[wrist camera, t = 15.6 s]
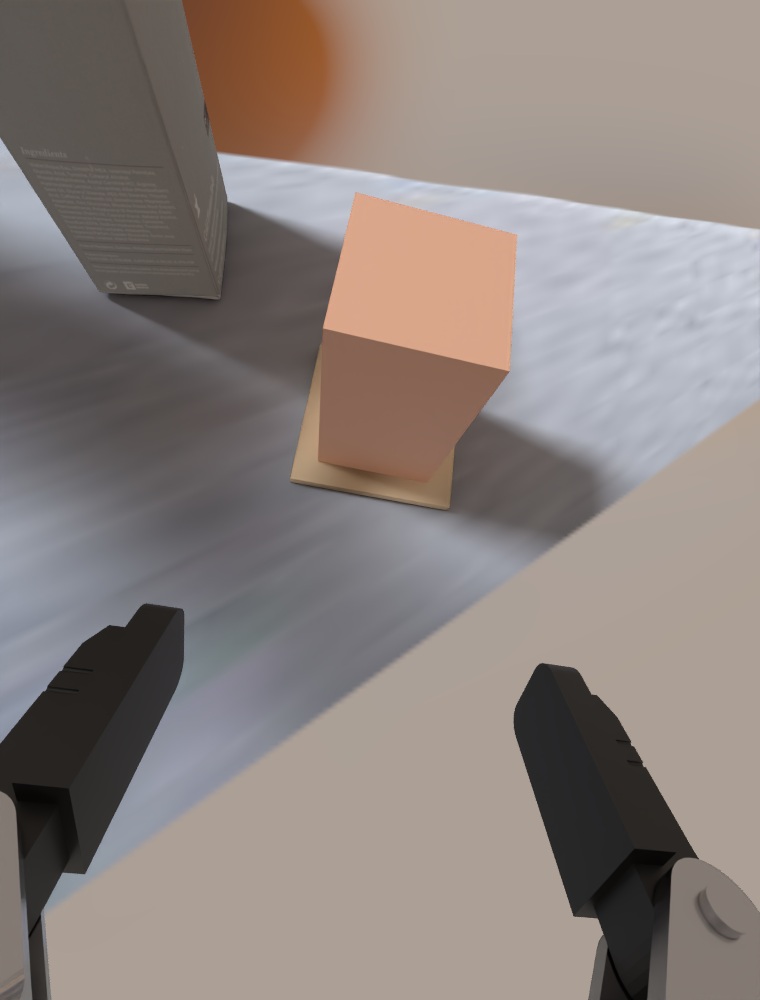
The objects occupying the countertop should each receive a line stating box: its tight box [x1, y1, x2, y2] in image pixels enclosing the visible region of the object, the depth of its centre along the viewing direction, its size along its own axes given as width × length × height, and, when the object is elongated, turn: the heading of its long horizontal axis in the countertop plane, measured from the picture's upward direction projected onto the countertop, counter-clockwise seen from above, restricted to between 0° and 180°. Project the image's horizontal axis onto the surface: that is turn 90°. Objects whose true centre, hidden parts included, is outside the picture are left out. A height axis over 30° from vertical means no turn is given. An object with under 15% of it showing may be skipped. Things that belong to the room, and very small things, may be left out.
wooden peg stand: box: [290, 344, 455, 510], centre depth 19 cm, size 8×8×8 cm
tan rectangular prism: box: [318, 193, 517, 483], centre depth 18 cm, size 6×6×10 cm
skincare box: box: [0, 0, 227, 300], centre depth 17 cm, size 8×7×16 cm
